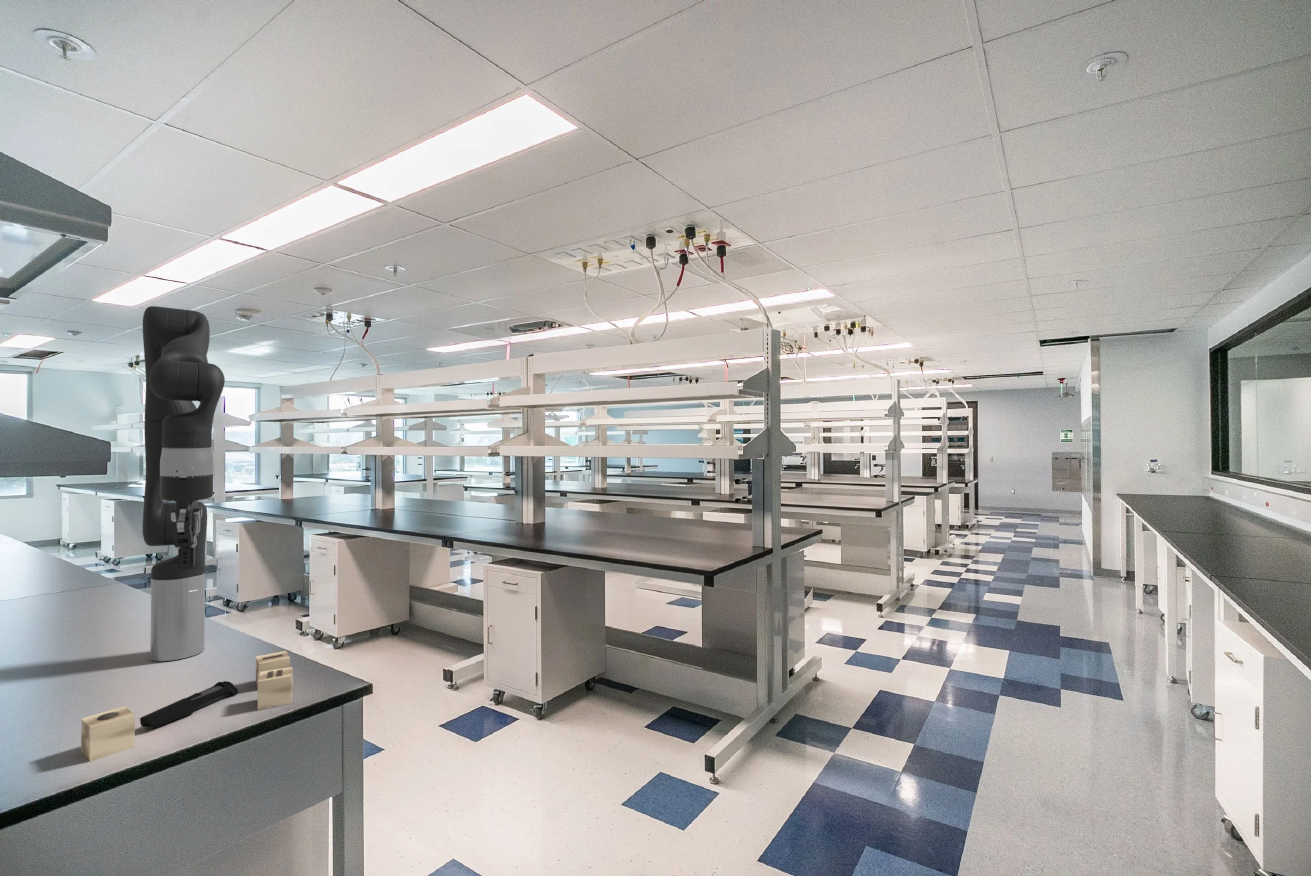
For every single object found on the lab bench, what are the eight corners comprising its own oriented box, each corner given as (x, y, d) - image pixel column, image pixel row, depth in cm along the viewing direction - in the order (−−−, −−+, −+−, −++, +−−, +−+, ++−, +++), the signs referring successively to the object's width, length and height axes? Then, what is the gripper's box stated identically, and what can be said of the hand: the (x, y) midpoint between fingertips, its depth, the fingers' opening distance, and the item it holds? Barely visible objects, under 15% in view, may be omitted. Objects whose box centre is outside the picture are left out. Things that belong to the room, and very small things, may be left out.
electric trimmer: (132, 734, 94) (132, 714, 94) (223, 693, 109) (223, 676, 109) (150, 737, 93) (150, 717, 93) (239, 695, 109) (239, 678, 109)
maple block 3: (259, 699, 106) (260, 671, 106) (292, 693, 109) (292, 665, 109) (257, 710, 102) (257, 680, 102) (291, 704, 105) (291, 675, 105)
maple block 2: (255, 682, 114) (255, 655, 114) (285, 675, 117) (286, 650, 117) (258, 690, 110) (259, 663, 110) (289, 683, 113) (290, 657, 113)
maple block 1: (81, 751, 88) (81, 717, 88) (124, 737, 92) (125, 705, 92) (89, 762, 85) (90, 726, 85) (134, 747, 90) (134, 713, 90)
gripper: (168, 470, 109) (167, 562, 110) (151, 476, 98) (150, 579, 98) (218, 469, 113) (217, 558, 113) (207, 475, 102) (206, 574, 102)
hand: (186, 568), depth 106 cm, fingers closed
